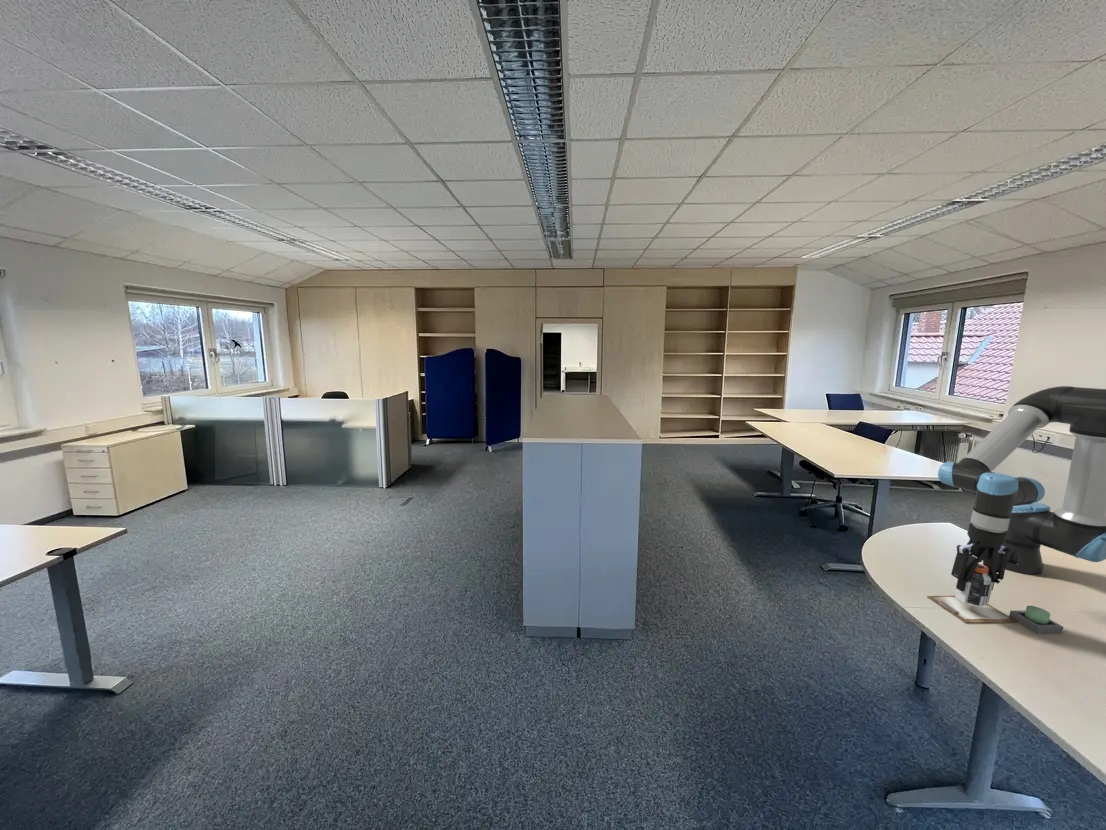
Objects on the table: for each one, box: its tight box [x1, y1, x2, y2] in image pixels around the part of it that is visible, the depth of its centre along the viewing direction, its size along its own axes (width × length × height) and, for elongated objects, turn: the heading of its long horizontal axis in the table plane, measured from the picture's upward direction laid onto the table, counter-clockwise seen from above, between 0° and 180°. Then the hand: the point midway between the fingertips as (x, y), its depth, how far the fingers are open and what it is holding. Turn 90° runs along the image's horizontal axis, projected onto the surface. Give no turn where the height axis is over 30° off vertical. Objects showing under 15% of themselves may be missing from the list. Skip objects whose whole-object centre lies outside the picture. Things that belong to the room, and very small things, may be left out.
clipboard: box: [926, 595, 1018, 624], centre depth 123 cm, size 15×12×1 cm
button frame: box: [1008, 609, 1064, 635], centre depth 117 cm, size 7×7×2 cm
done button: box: [1024, 605, 1051, 625], centre depth 116 cm, size 4×4×3 cm
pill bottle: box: [964, 562, 991, 606], centre depth 122 cm, size 6×6×11 cm
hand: (971, 599), depth 123 cm, fingers closed on pill bottle, 6 cm apart
